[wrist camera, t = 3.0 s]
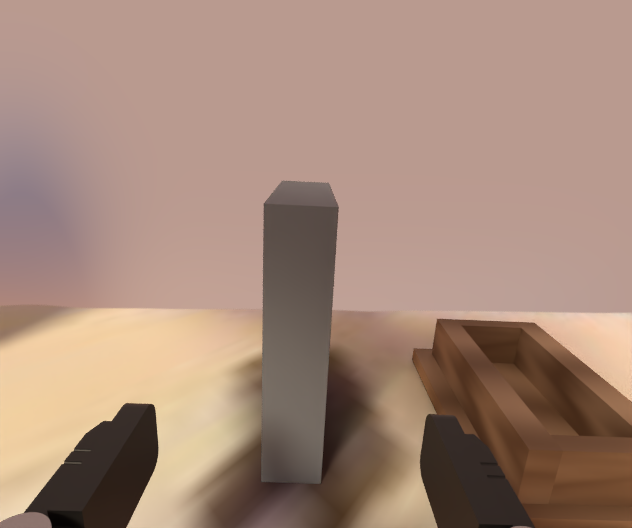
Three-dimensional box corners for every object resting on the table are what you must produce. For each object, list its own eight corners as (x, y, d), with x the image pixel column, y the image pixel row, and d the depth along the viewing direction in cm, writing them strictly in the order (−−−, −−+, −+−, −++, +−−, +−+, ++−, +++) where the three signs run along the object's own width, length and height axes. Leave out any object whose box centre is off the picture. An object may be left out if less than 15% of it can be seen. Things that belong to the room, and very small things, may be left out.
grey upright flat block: (320, 483, 20) (338, 207, 16) (261, 481, 20) (263, 203, 16) (318, 373, 30) (328, 183, 26) (277, 372, 30) (282, 180, 25)
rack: (710, 540, 18) (742, 469, 17) (492, 534, 18) (509, 462, 17) (534, 364, 32) (545, 319, 31) (412, 359, 32) (418, 314, 31)
